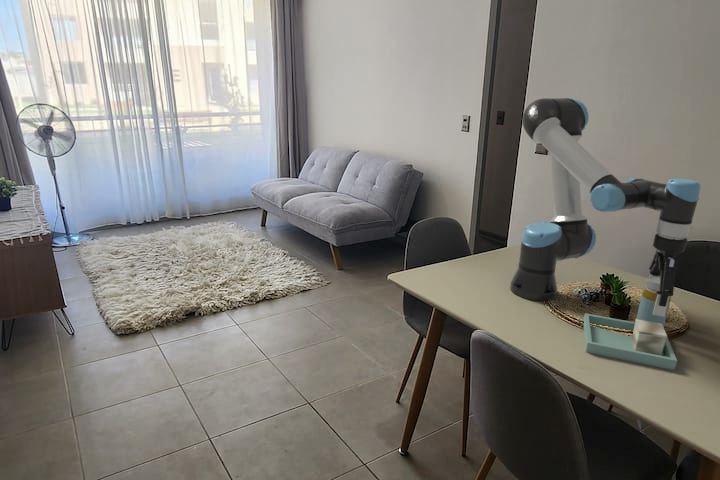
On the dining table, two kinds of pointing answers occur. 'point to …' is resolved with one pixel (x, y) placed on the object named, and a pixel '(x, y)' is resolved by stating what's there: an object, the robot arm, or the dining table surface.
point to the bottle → (651, 302)
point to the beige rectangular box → (648, 337)
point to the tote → (622, 343)
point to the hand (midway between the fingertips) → (654, 305)
